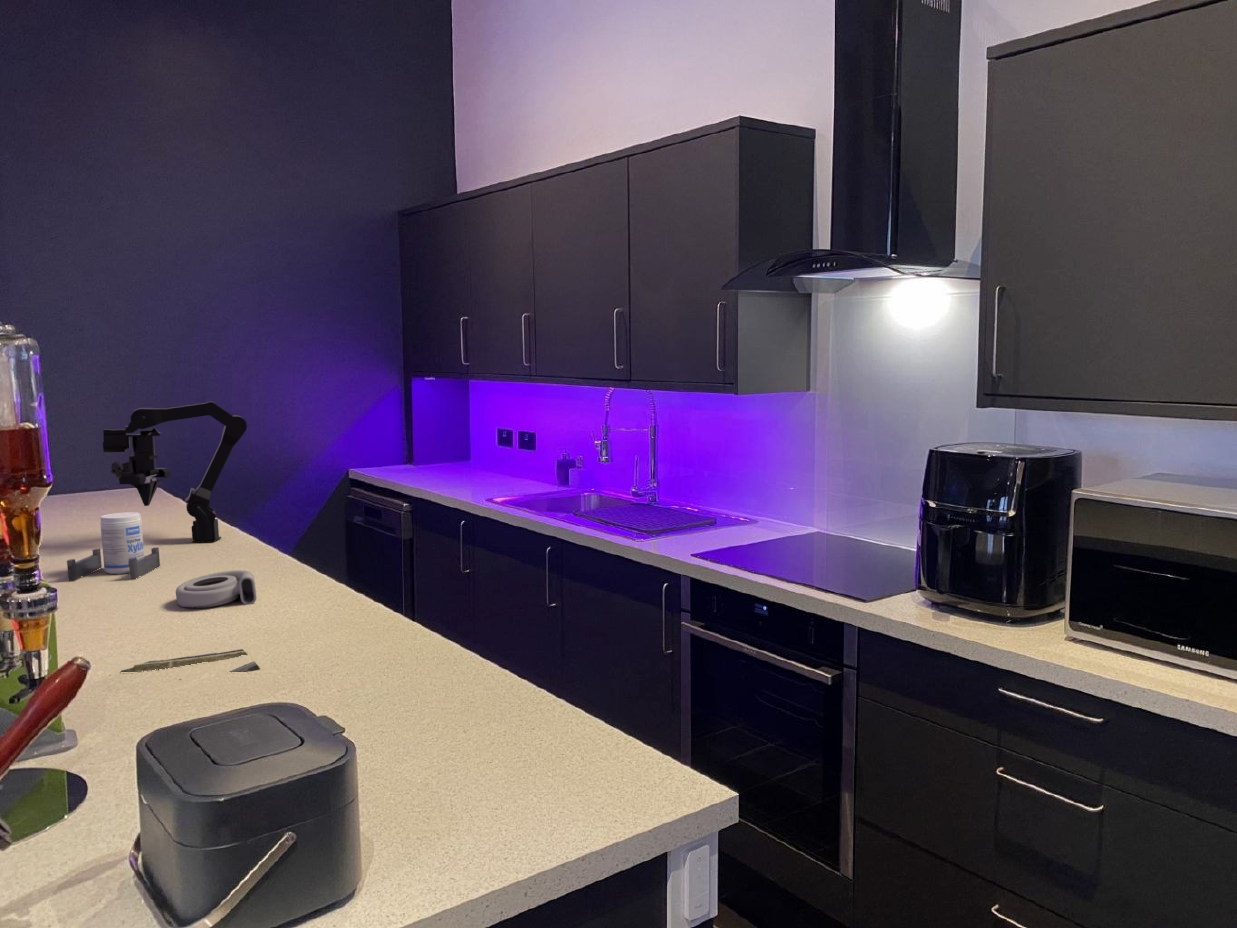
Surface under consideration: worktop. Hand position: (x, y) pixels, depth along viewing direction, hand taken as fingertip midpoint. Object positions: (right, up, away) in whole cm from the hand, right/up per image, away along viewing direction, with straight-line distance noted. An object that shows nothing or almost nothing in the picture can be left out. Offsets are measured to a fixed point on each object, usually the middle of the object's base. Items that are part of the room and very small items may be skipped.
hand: (146, 505), depth 284 cm
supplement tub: (+8, -16, -29) cm, 34 cm away
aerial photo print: (+60, -26, -111) cm, 129 cm away
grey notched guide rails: (+8, -16, -33) cm, 37 cm away
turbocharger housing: (+45, -19, -61) cm, 79 cm away
